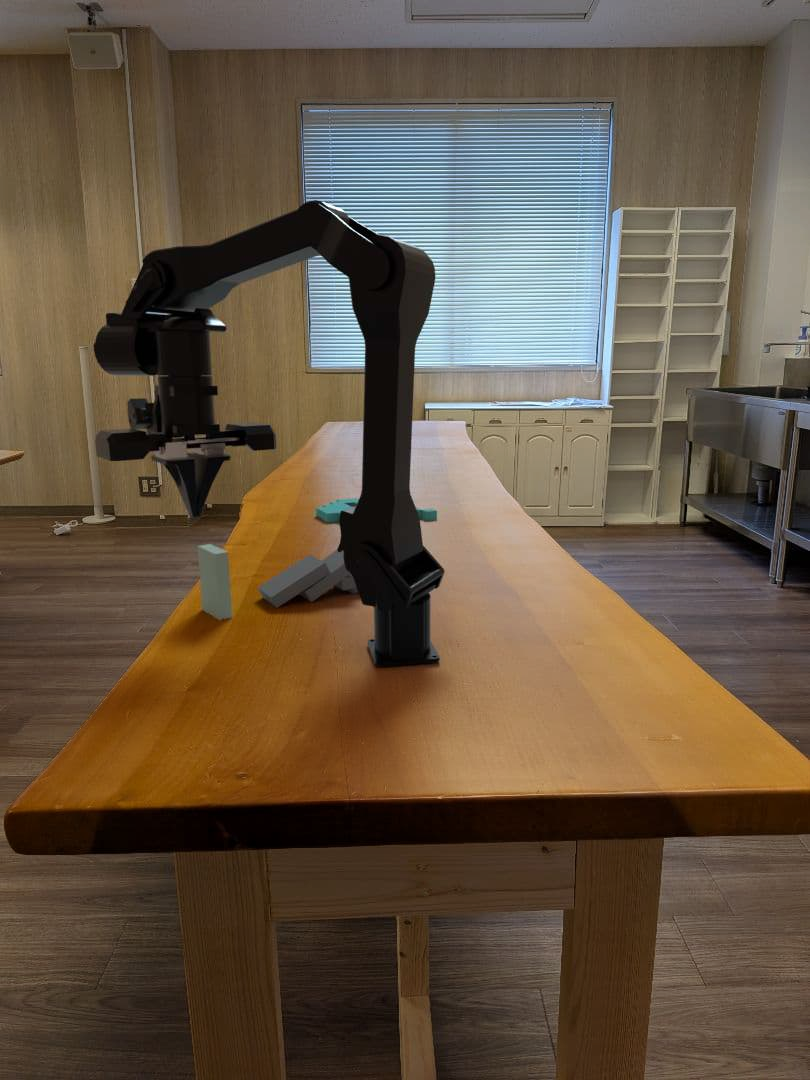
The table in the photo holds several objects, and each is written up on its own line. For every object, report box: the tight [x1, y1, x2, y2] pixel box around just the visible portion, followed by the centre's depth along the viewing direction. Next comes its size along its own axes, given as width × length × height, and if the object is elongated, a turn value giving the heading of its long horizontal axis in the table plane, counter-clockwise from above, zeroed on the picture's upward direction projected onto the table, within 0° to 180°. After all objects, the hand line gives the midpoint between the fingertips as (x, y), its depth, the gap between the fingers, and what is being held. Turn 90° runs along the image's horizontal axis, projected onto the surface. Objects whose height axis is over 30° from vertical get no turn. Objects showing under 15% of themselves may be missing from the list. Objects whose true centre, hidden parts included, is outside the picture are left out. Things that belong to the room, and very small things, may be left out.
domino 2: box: [298, 549, 350, 603], centre depth 94 cm, size 2×5×8 cm
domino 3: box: [334, 574, 357, 591], centre depth 97 cm, size 2×5×8 cm
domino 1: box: [257, 554, 330, 609], centre depth 92 cm, size 2×5×8 cm
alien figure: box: [315, 497, 438, 523], centre depth 145 cm, size 20×2×20 cm
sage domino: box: [197, 543, 233, 621], centre depth 86 cm, size 2×5×8 cm, turn 38°
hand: (194, 516), depth 83 cm, fingers closed
